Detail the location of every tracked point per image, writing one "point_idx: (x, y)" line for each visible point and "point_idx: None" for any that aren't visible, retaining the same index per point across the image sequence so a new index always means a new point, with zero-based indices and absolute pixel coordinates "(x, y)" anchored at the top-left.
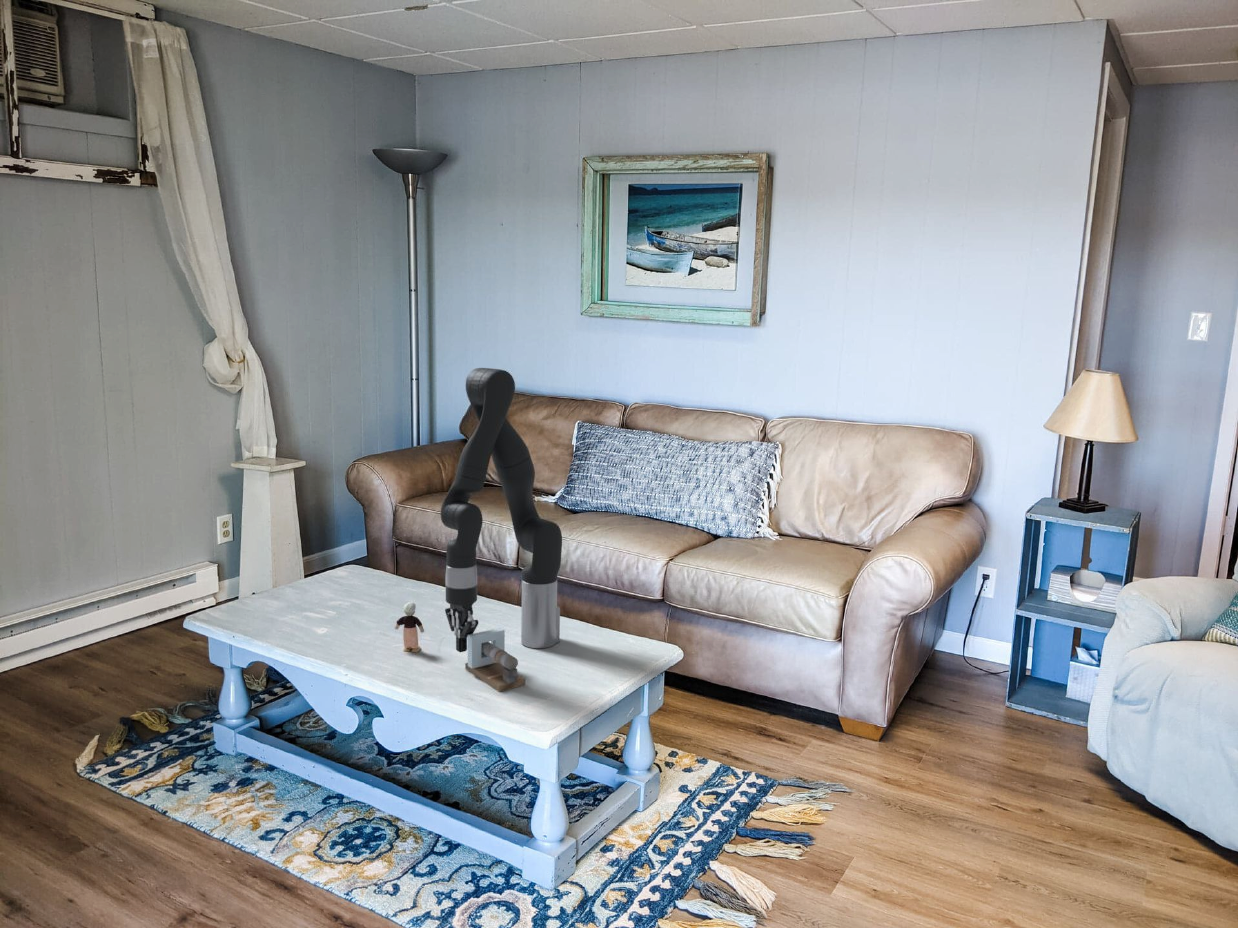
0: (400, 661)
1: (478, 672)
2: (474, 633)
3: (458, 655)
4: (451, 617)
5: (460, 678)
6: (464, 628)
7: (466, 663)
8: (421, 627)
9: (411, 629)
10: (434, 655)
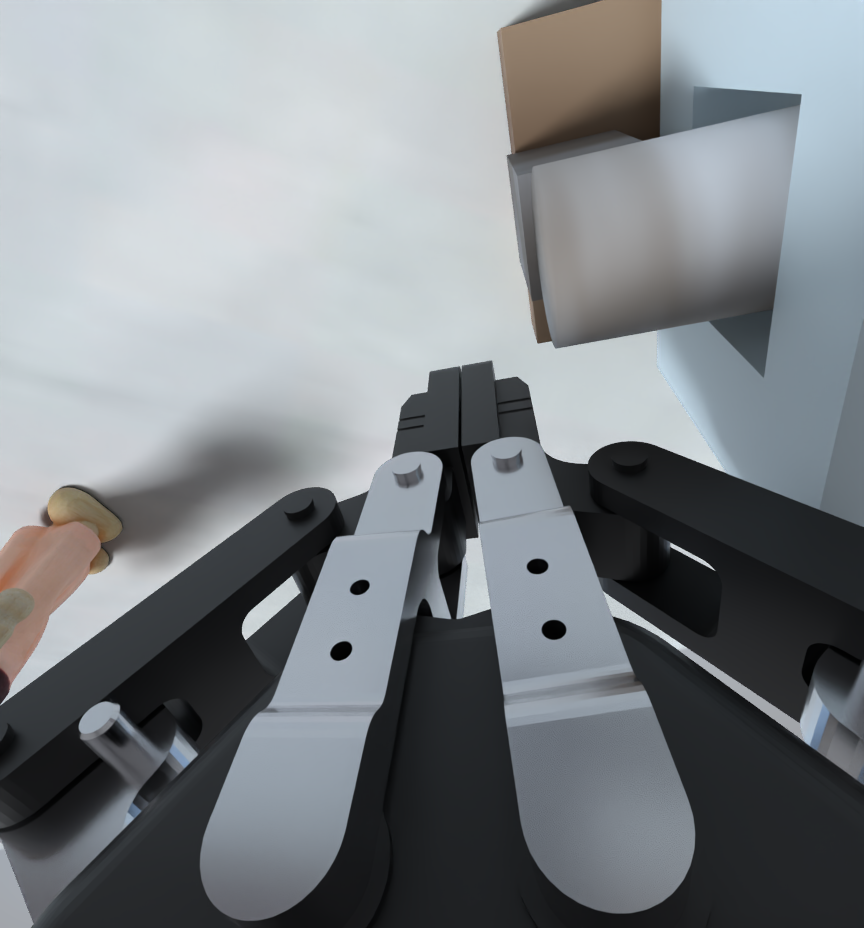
0: (258, 609)
1: None
2: (825, 495)
3: (221, 287)
4: (226, 720)
5: (677, 404)
6: (745, 672)
7: (545, 335)
8: (2, 635)
9: (13, 664)
10: (194, 444)
